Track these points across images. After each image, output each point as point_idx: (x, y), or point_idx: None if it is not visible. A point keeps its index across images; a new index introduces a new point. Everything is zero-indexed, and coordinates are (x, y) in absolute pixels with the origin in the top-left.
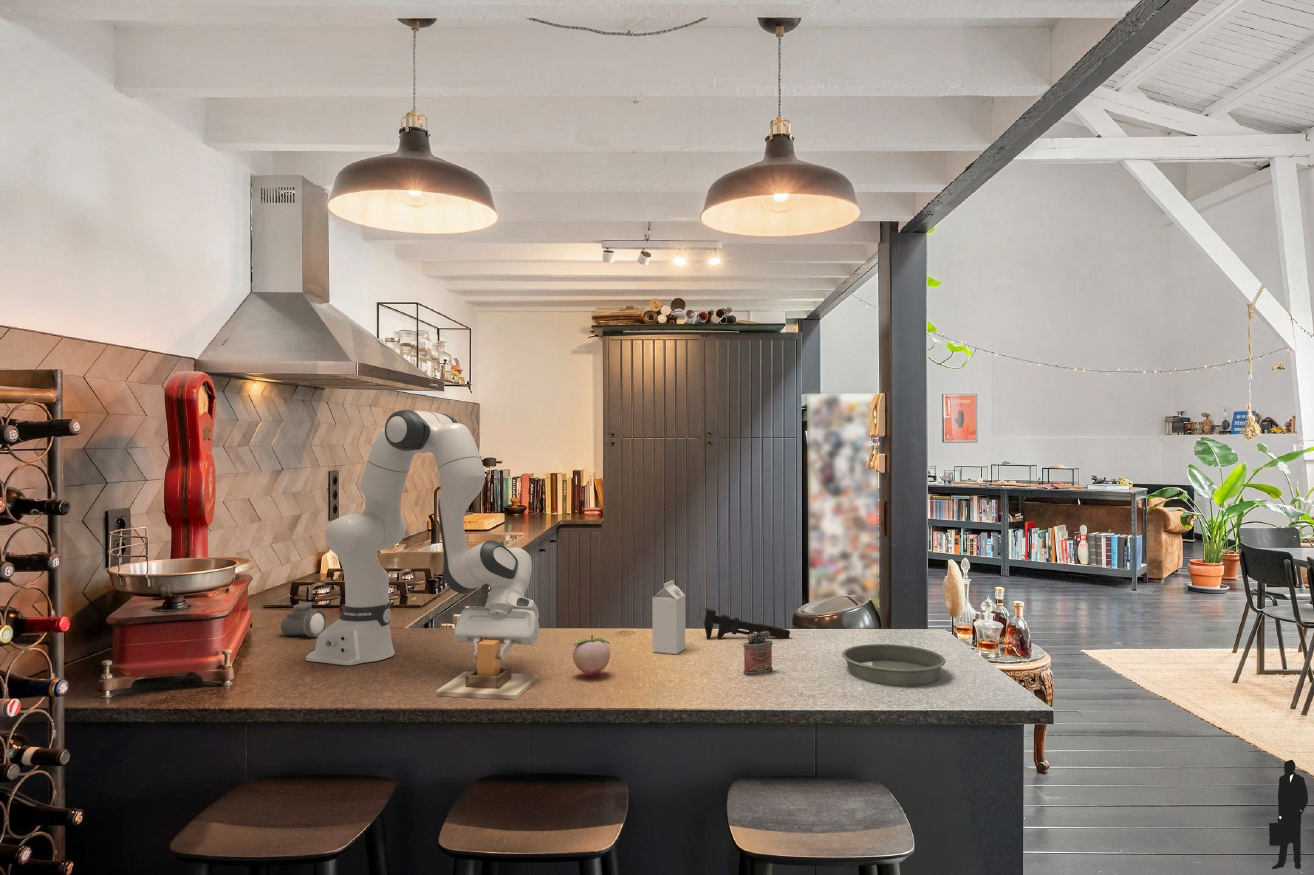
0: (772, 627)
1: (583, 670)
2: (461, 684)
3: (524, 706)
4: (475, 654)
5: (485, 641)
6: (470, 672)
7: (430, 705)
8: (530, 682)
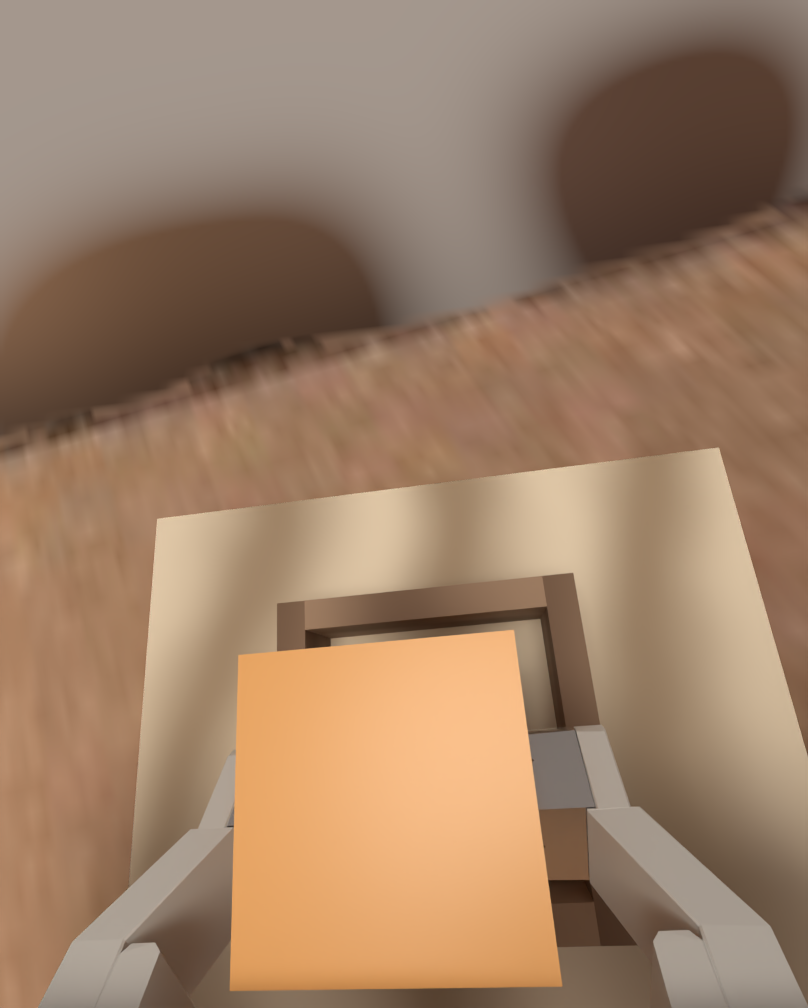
0: None
1: None
2: (636, 646)
3: (103, 444)
4: (582, 729)
5: (459, 837)
6: None
7: (613, 313)
8: (134, 832)
